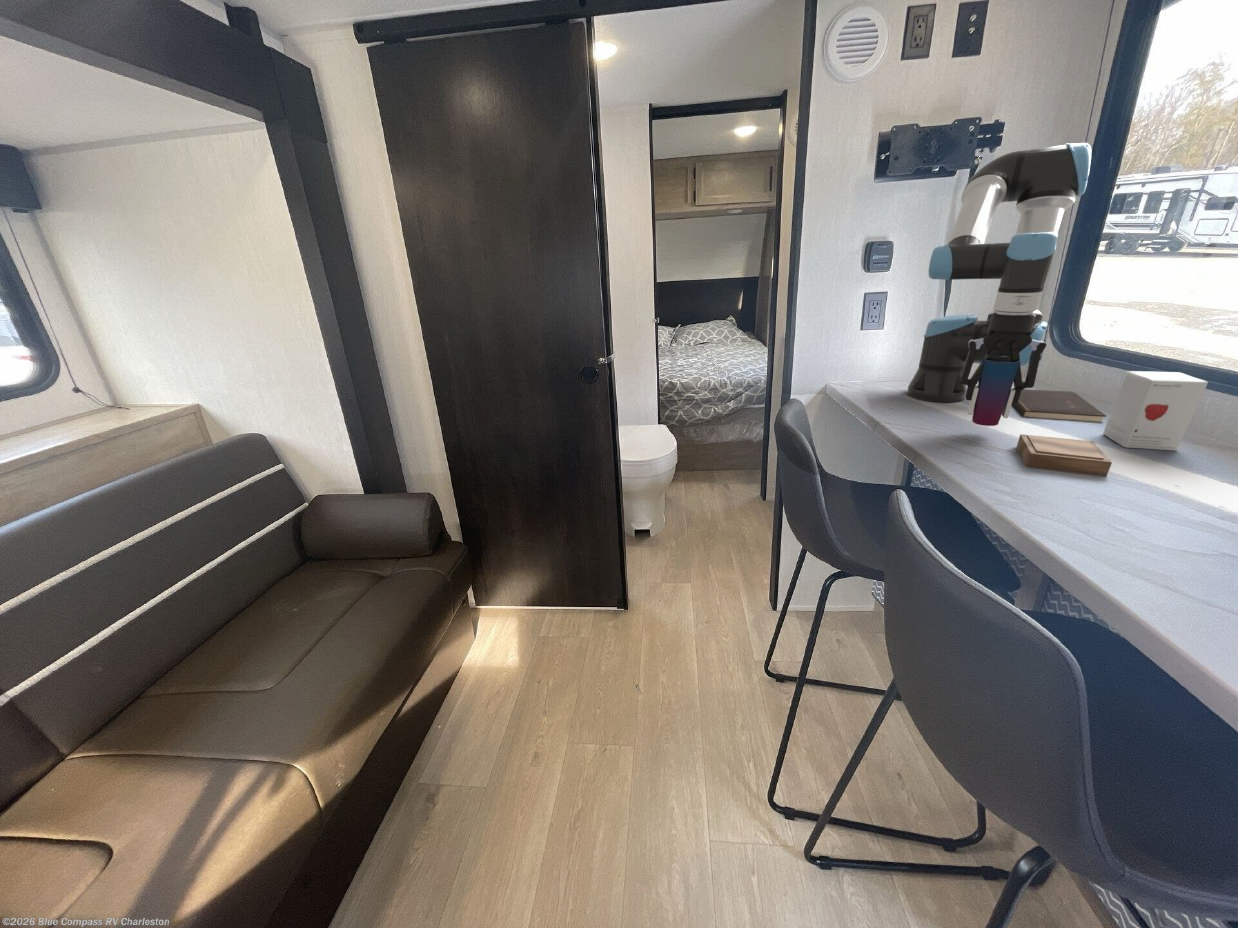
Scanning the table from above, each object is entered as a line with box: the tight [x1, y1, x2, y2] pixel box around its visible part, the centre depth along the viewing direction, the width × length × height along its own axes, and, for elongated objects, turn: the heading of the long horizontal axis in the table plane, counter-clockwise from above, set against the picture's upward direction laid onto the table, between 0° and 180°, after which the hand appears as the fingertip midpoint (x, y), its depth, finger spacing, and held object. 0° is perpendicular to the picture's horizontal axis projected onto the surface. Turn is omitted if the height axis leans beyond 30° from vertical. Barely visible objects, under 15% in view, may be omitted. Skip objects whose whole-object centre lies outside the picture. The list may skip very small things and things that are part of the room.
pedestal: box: [1016, 433, 1113, 477], centre depth 98 cm, size 12×12×3 cm
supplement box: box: [1102, 370, 1209, 452], centre depth 102 cm, size 9×9×15 cm
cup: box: [971, 356, 1021, 427], centre depth 109 cm, size 7×7×15 cm
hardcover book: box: [1011, 388, 1107, 423], centre depth 130 cm, size 16×23×2 cm
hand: (986, 414), depth 111 cm, fingers closed on cup, 6 cm apart
